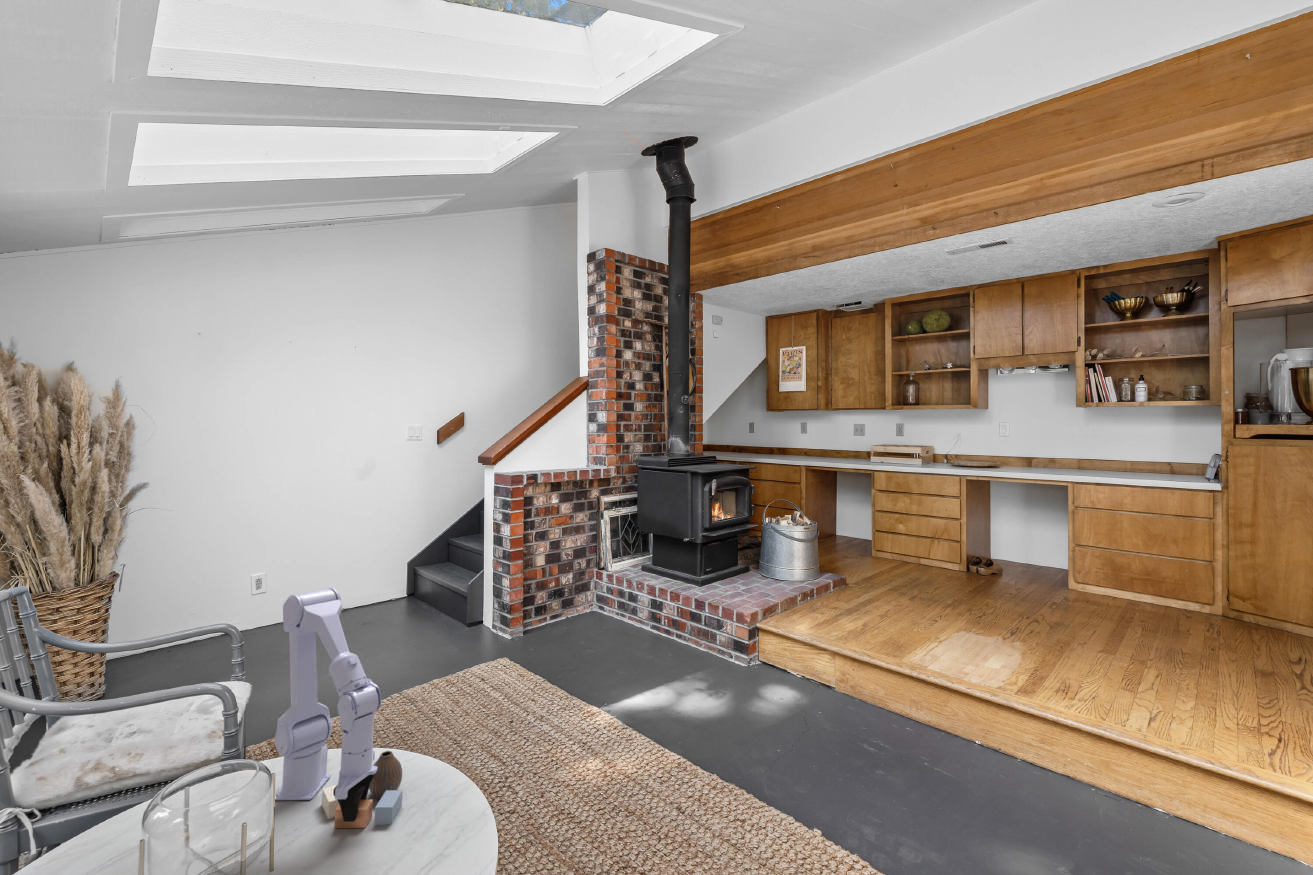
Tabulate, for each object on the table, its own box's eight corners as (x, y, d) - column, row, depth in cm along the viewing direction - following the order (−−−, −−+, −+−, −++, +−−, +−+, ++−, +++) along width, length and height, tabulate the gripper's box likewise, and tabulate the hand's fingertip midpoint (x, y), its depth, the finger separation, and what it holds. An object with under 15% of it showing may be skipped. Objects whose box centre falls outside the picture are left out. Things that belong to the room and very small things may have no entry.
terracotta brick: (334, 827, 118) (335, 809, 118) (341, 817, 121) (342, 799, 121) (365, 827, 118) (366, 809, 118) (371, 816, 122) (372, 799, 122)
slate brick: (385, 807, 126) (386, 790, 126) (401, 807, 126) (402, 790, 126) (374, 825, 120) (375, 807, 120) (391, 824, 120) (392, 807, 120)
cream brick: (321, 805, 125) (322, 788, 125) (339, 799, 127) (340, 783, 128) (328, 819, 121) (329, 802, 121) (346, 813, 123) (347, 796, 123)
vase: (392, 803, 127) (394, 762, 127) (361, 801, 127) (363, 760, 127) (406, 785, 134) (408, 746, 134) (377, 783, 134) (378, 744, 134)
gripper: (363, 765, 113) (359, 837, 113) (390, 729, 128) (387, 792, 127) (325, 766, 113) (321, 837, 112) (356, 730, 127) (353, 793, 127)
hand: (353, 814), depth 120 cm, fingers closed on terracotta brick, 3 cm apart
